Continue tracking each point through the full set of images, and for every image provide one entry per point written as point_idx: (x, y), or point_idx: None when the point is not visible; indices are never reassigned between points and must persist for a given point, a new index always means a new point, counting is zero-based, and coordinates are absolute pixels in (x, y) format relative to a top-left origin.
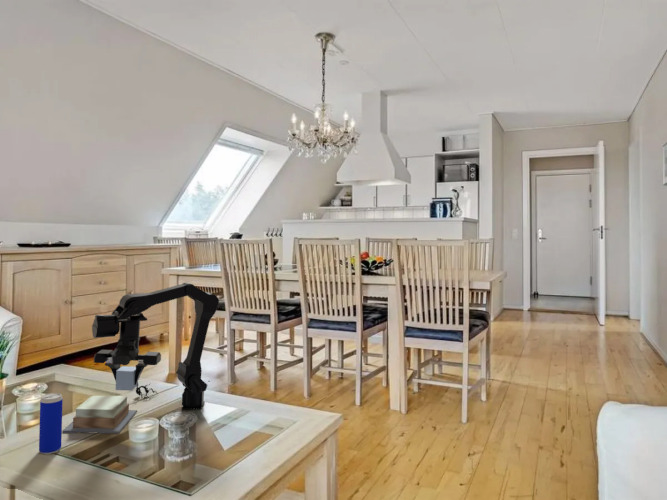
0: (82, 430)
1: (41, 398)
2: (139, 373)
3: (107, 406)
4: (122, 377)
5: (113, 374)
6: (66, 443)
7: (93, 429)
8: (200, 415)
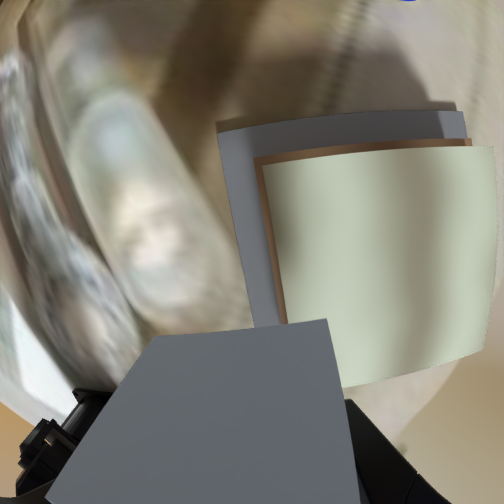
0: (393, 114)
1: None
2: (55, 479)
3: (343, 215)
4: (234, 448)
5: (417, 475)
6: (380, 21)
7: (352, 129)
8: (51, 350)
